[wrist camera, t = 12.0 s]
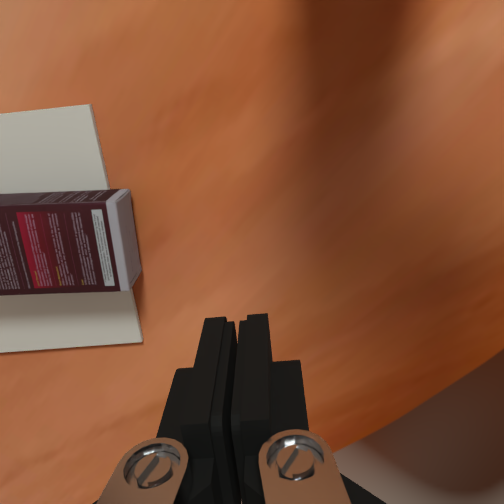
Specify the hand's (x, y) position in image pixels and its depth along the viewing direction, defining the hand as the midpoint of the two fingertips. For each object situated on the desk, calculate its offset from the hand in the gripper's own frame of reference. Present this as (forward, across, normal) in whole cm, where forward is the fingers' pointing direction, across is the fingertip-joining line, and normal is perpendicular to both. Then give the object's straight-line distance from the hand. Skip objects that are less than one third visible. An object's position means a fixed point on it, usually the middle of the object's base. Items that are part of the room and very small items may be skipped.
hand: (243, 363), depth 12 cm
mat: (+31, +22, +6) cm, 39 cm away
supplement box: (+28, +12, +6) cm, 31 cm away
